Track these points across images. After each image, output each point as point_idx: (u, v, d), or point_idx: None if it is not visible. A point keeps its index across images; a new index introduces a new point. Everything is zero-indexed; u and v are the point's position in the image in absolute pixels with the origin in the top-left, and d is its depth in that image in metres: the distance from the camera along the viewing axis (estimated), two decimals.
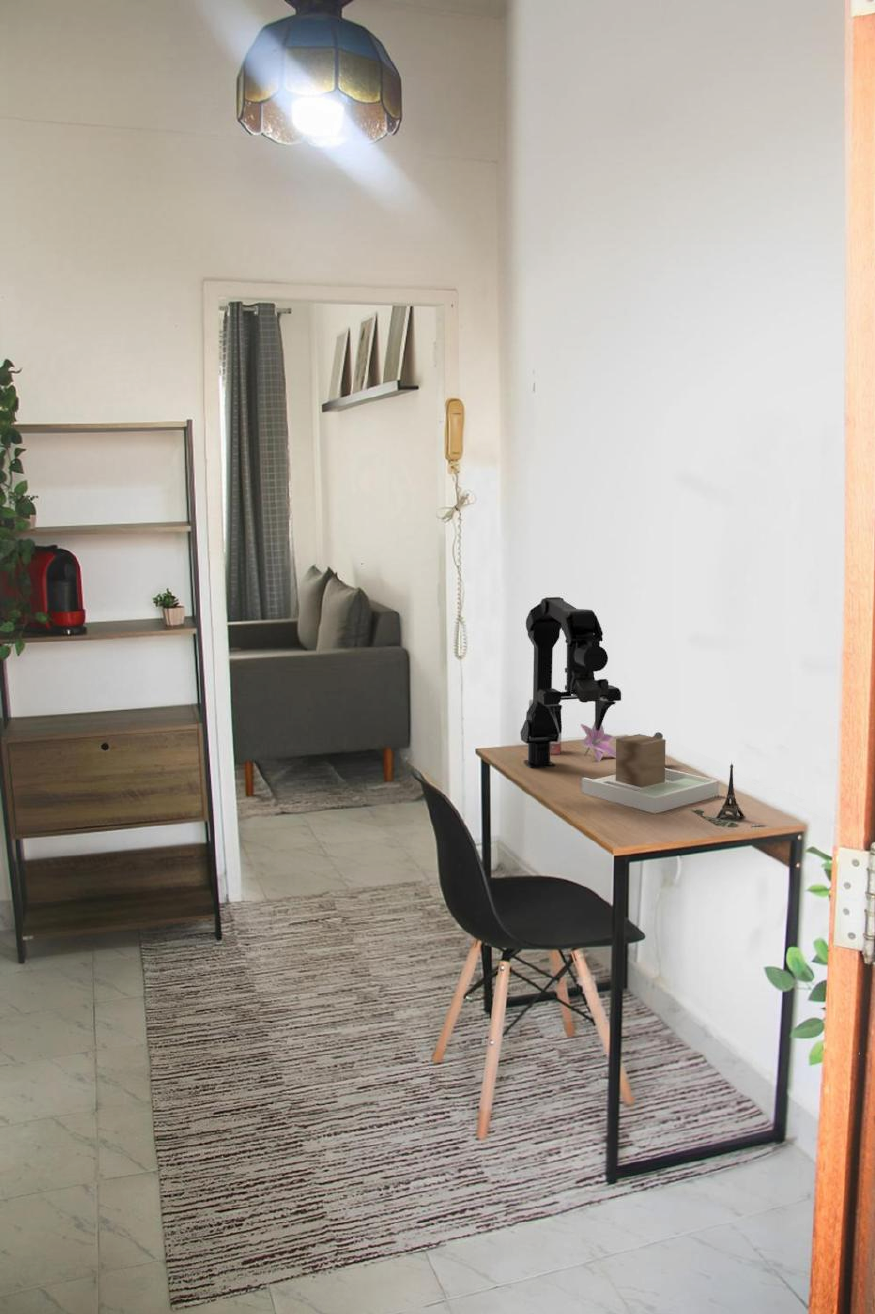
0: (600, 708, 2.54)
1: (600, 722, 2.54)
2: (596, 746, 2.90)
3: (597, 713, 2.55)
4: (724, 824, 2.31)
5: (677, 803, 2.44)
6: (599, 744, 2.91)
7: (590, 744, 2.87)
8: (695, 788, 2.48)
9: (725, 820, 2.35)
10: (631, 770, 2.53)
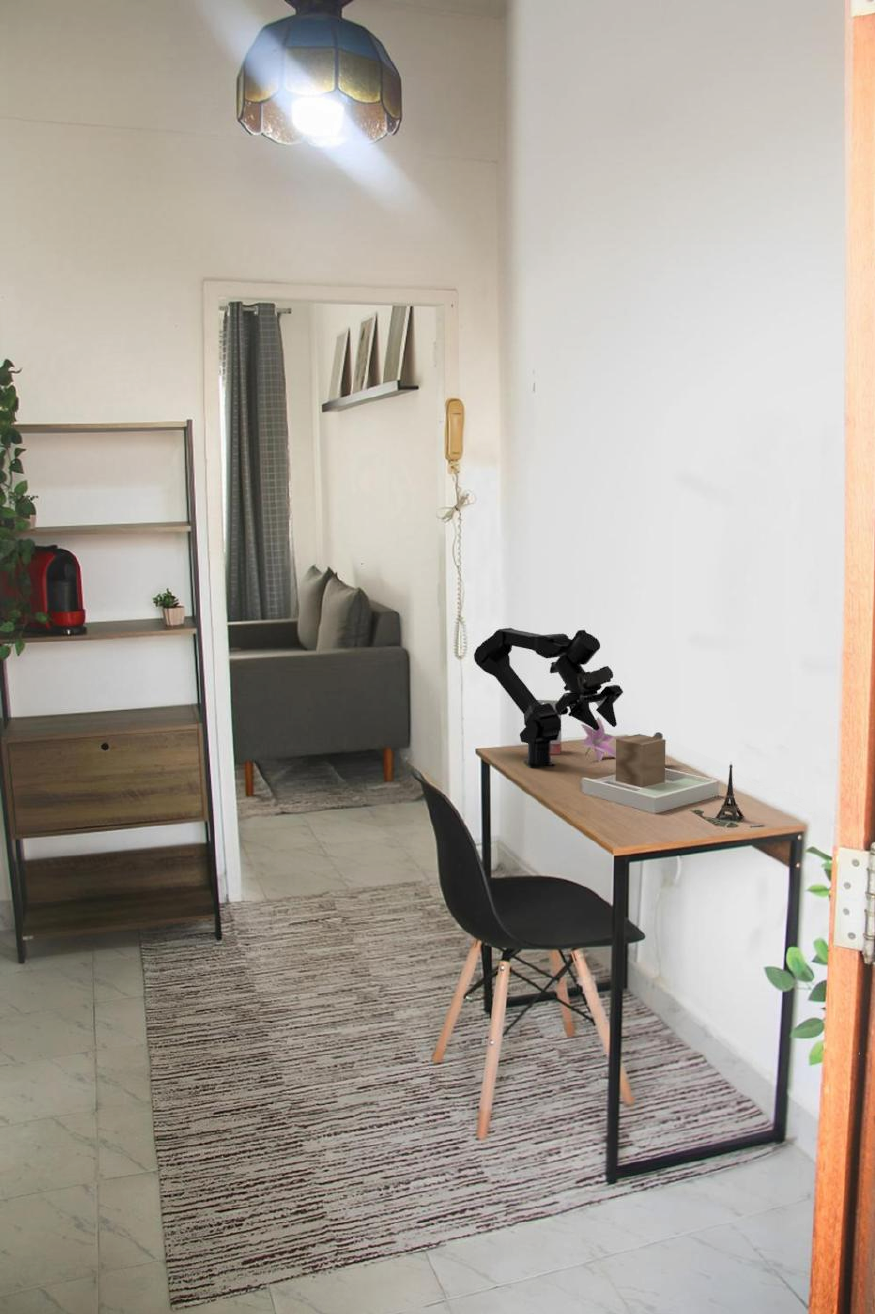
0: (606, 705, 2.67)
1: (614, 716, 2.66)
2: (597, 746, 2.90)
3: (606, 713, 2.67)
4: (724, 824, 2.31)
5: (677, 803, 2.44)
6: (600, 744, 2.91)
7: (591, 744, 2.87)
8: (695, 788, 2.48)
9: (724, 820, 2.35)
10: (631, 770, 2.53)
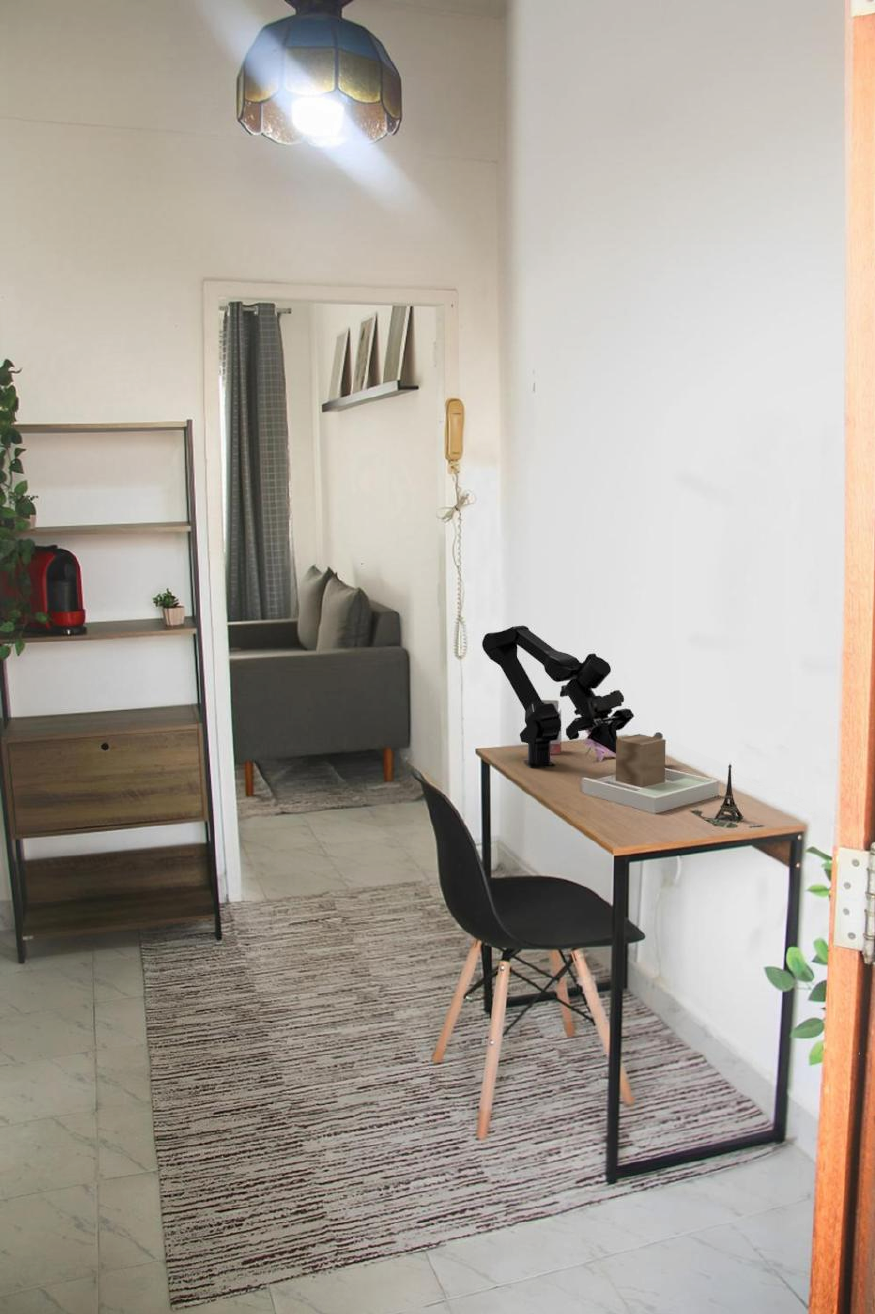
0: (610, 731, 2.64)
1: None
2: (597, 746, 2.90)
3: None
4: (723, 824, 2.31)
5: (677, 803, 2.44)
6: (600, 744, 2.91)
7: (591, 744, 2.87)
8: (695, 788, 2.48)
9: (723, 820, 2.34)
10: (631, 770, 2.53)
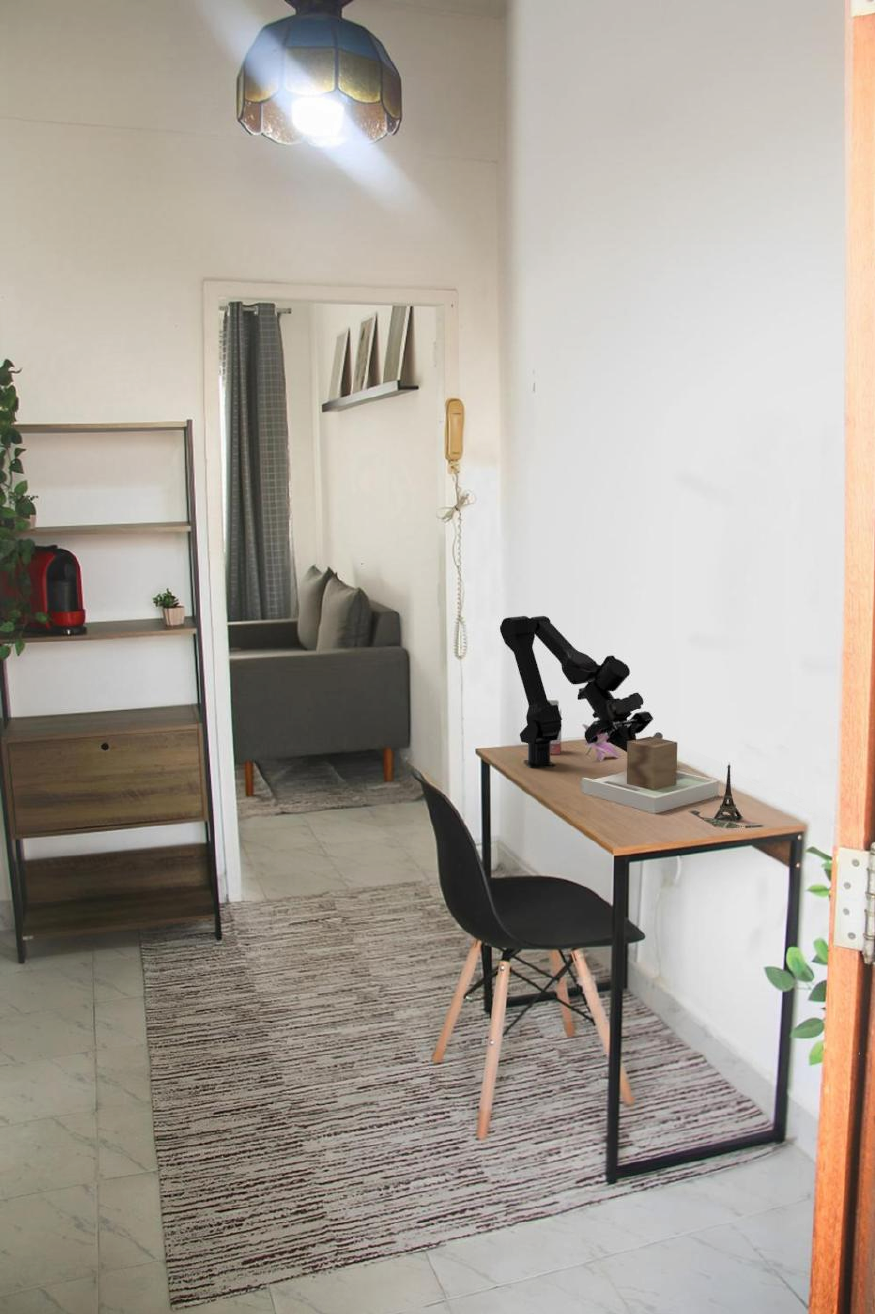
0: (629, 735, 2.59)
1: None
2: (598, 746, 2.90)
3: None
4: (722, 824, 2.31)
5: (677, 803, 2.44)
6: (601, 744, 2.91)
7: (592, 744, 2.87)
8: (695, 788, 2.48)
9: (723, 820, 2.34)
10: (642, 773, 2.51)
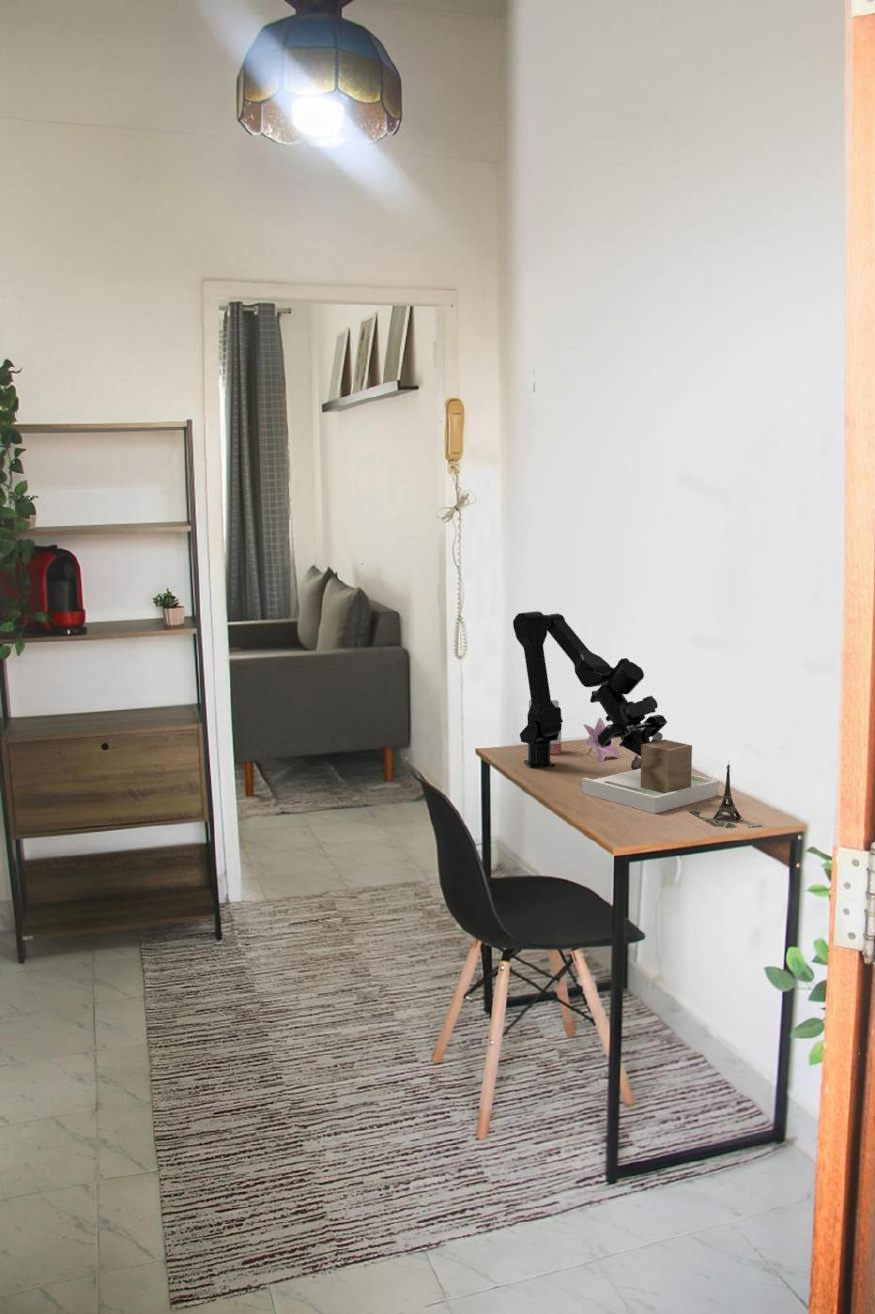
0: (643, 738, 2.56)
1: None
2: (599, 746, 2.90)
3: None
4: (722, 824, 2.31)
5: (677, 803, 2.44)
6: None
7: (593, 744, 2.87)
8: (695, 788, 2.48)
9: (722, 820, 2.34)
10: (657, 776, 2.47)
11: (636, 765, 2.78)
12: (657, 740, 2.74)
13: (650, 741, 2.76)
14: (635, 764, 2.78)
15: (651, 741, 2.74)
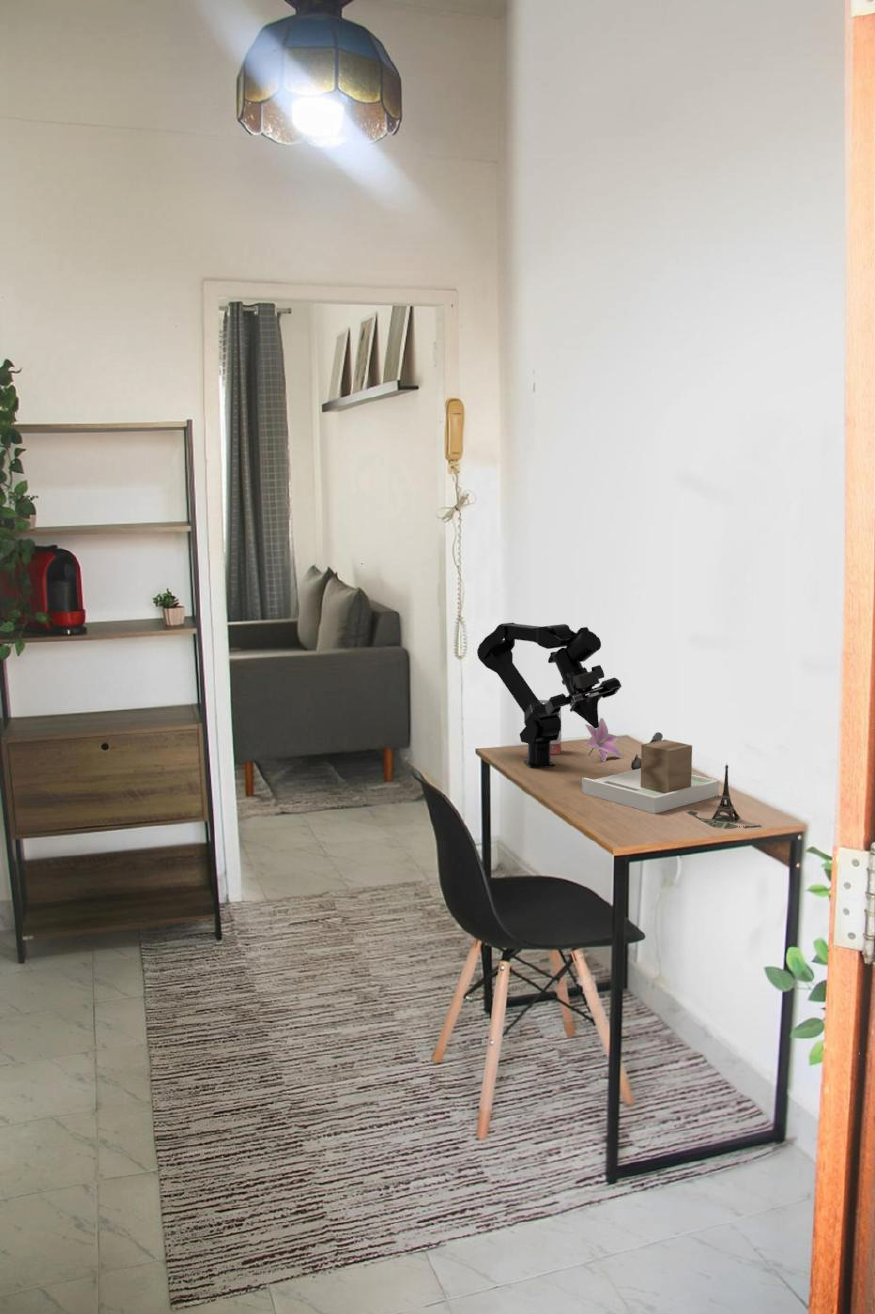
0: (591, 705, 2.67)
1: (596, 718, 2.66)
2: (600, 746, 2.90)
3: (591, 713, 2.67)
4: (721, 825, 2.31)
5: (677, 803, 2.44)
6: (604, 744, 2.91)
7: (595, 744, 2.87)
8: (695, 788, 2.48)
9: (720, 820, 2.34)
10: (657, 776, 2.47)
11: (636, 765, 2.78)
12: (657, 740, 2.74)
13: (650, 741, 2.76)
14: (635, 764, 2.78)
15: (651, 741, 2.74)
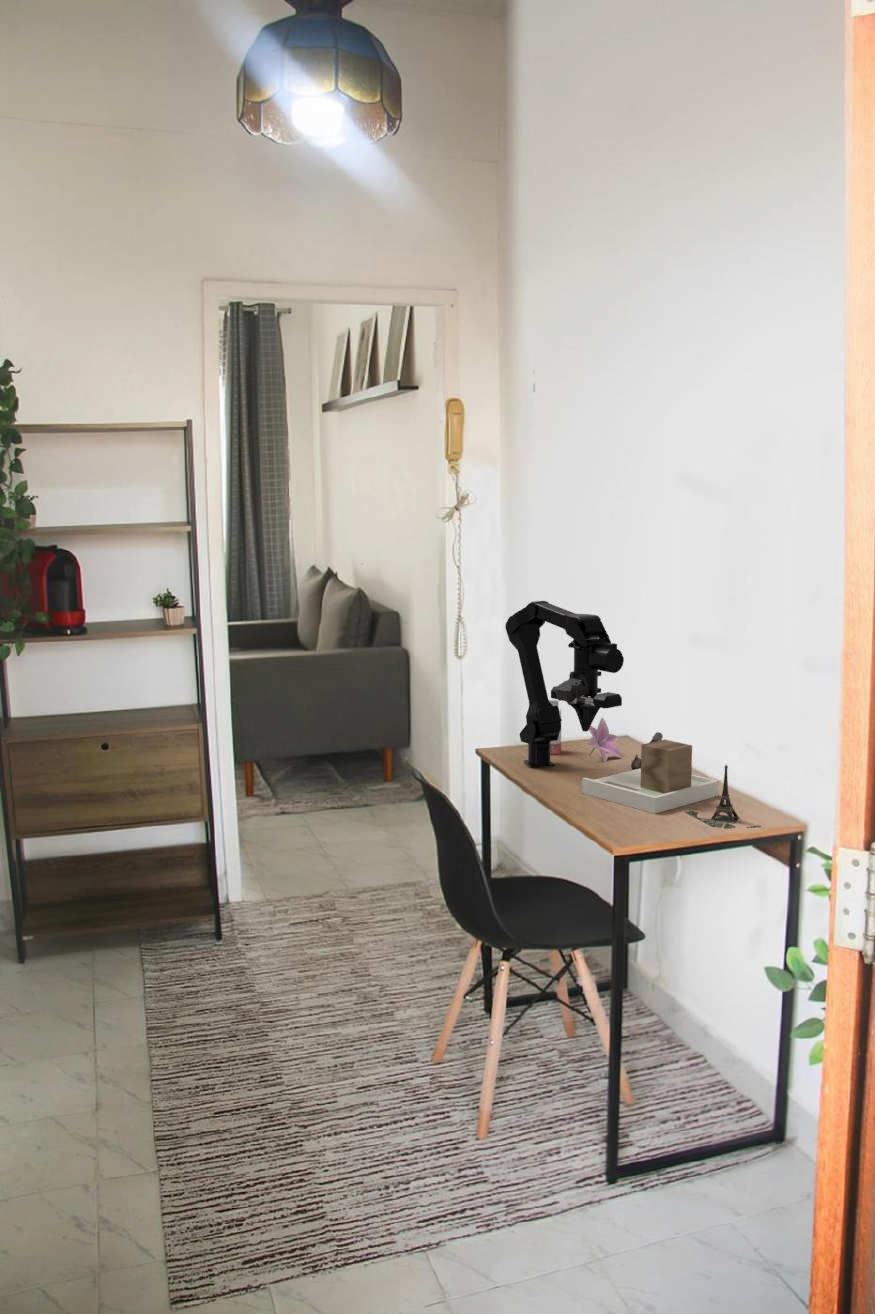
0: None
1: (584, 723, 2.66)
2: (601, 746, 2.90)
3: None
4: (720, 825, 2.31)
5: (677, 803, 2.44)
6: (604, 744, 2.91)
7: (596, 744, 2.87)
8: (695, 788, 2.48)
9: (720, 821, 2.34)
10: (657, 776, 2.47)
11: (636, 765, 2.78)
12: (657, 740, 2.74)
13: (650, 741, 2.76)
14: (635, 764, 2.78)
15: (651, 741, 2.74)
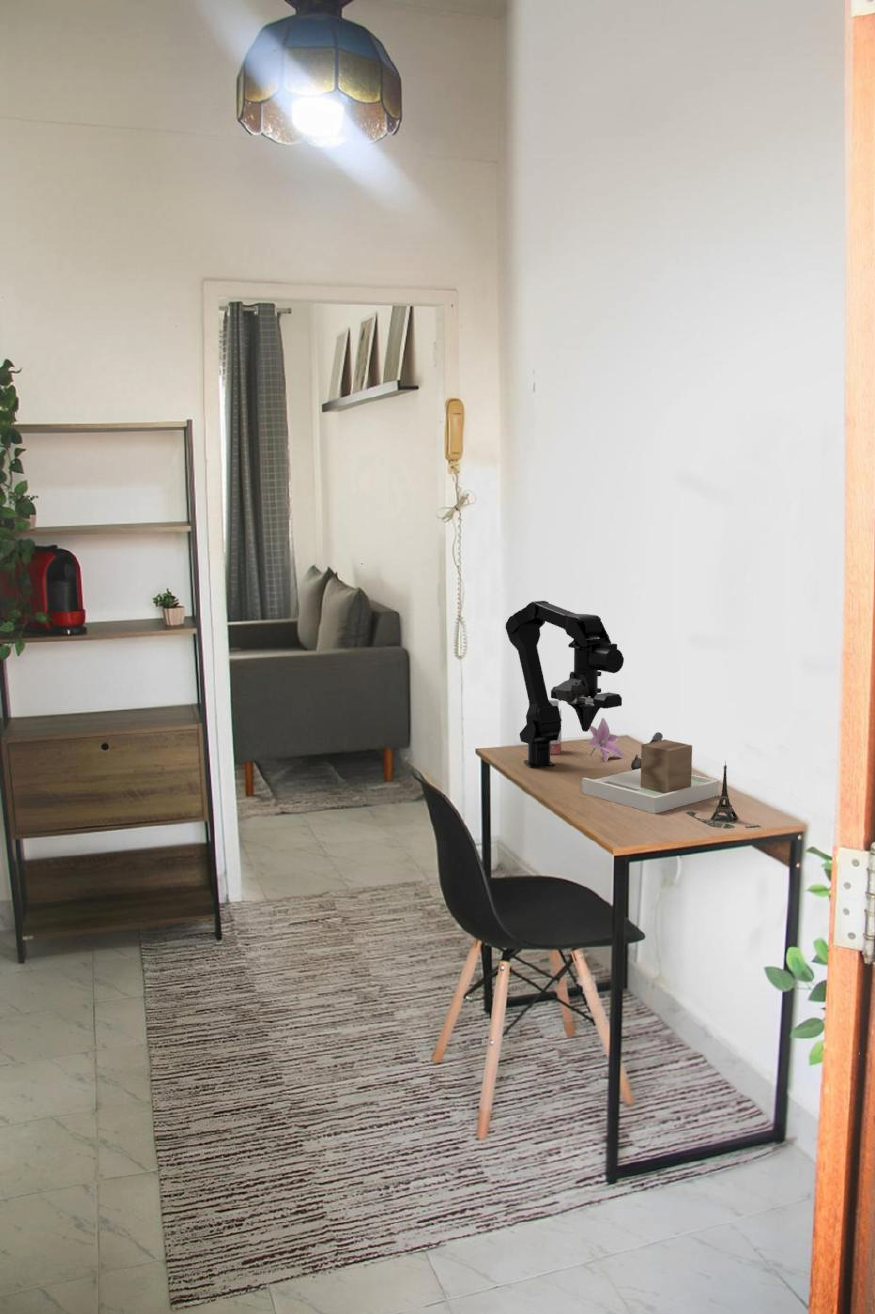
0: None
1: (584, 723, 2.66)
2: (602, 746, 2.90)
3: None
4: (720, 825, 2.31)
5: (677, 803, 2.44)
6: (605, 744, 2.90)
7: (597, 744, 2.86)
8: (695, 788, 2.48)
9: (719, 821, 2.34)
10: (657, 776, 2.47)
11: (636, 765, 2.78)
12: (657, 740, 2.74)
13: (650, 741, 2.76)
14: (635, 764, 2.78)
15: (651, 741, 2.74)
